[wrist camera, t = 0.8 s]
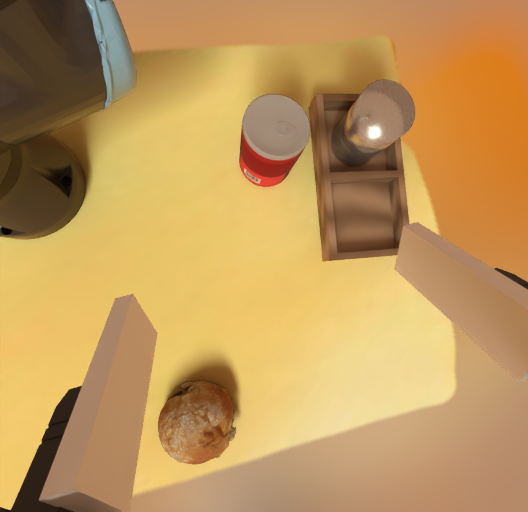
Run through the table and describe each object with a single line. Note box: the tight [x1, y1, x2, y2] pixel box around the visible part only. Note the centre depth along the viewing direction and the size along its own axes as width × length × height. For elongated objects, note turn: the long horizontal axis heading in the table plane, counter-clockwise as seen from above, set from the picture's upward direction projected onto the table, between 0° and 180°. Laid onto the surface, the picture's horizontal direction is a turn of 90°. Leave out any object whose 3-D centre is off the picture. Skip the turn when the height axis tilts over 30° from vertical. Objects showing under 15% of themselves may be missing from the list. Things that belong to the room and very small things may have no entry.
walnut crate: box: [309, 94, 409, 261], centre depth 40 cm, size 25×13×4 cm, turn 5°
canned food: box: [239, 94, 310, 187], centre depth 34 cm, size 8×8×11 cm
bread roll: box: [158, 381, 236, 464], centre depth 34 cm, size 10×10×8 cm
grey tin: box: [331, 80, 415, 167], centre depth 36 cm, size 8×8×9 cm
